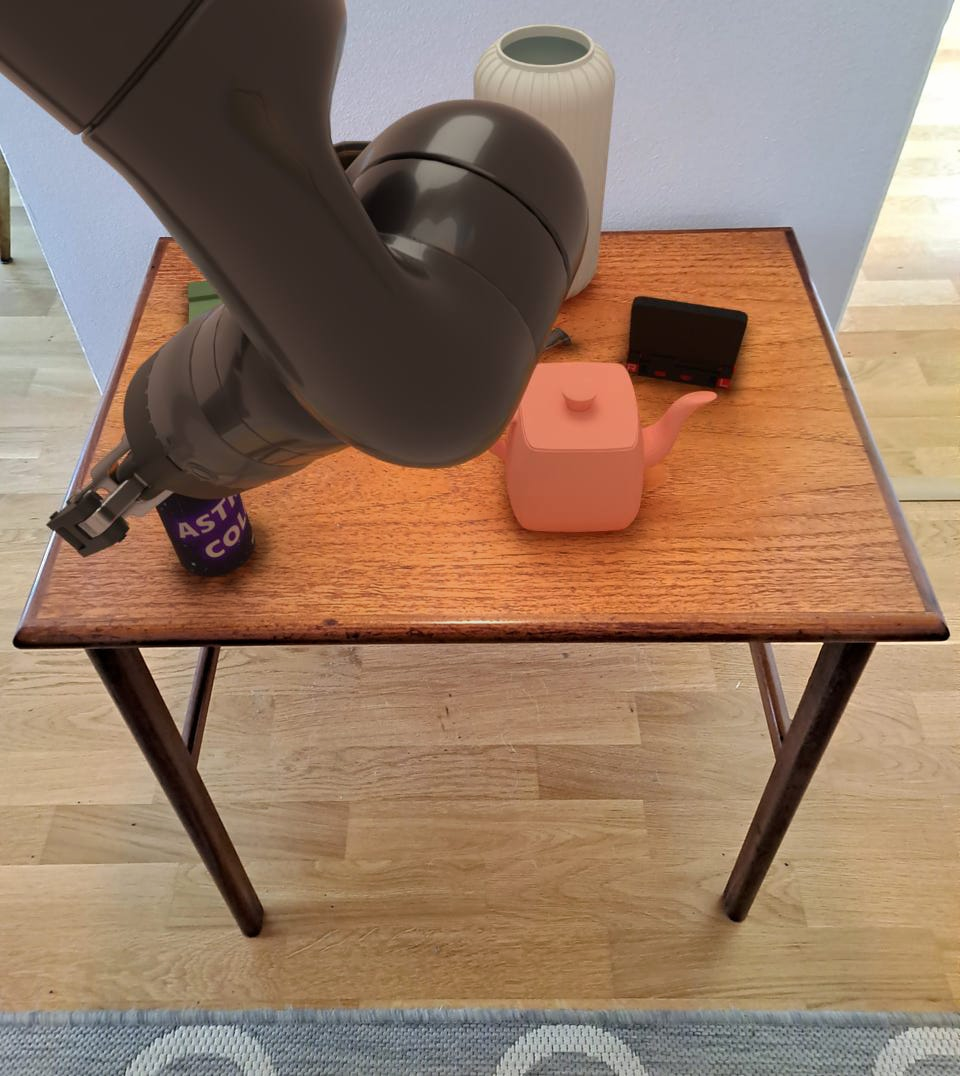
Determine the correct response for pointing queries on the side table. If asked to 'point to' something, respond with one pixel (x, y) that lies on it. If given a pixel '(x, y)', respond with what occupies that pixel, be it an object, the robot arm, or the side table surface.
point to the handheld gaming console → (684, 341)
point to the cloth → (201, 298)
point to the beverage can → (208, 533)
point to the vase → (559, 105)
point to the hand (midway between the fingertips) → (136, 460)
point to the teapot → (584, 447)
